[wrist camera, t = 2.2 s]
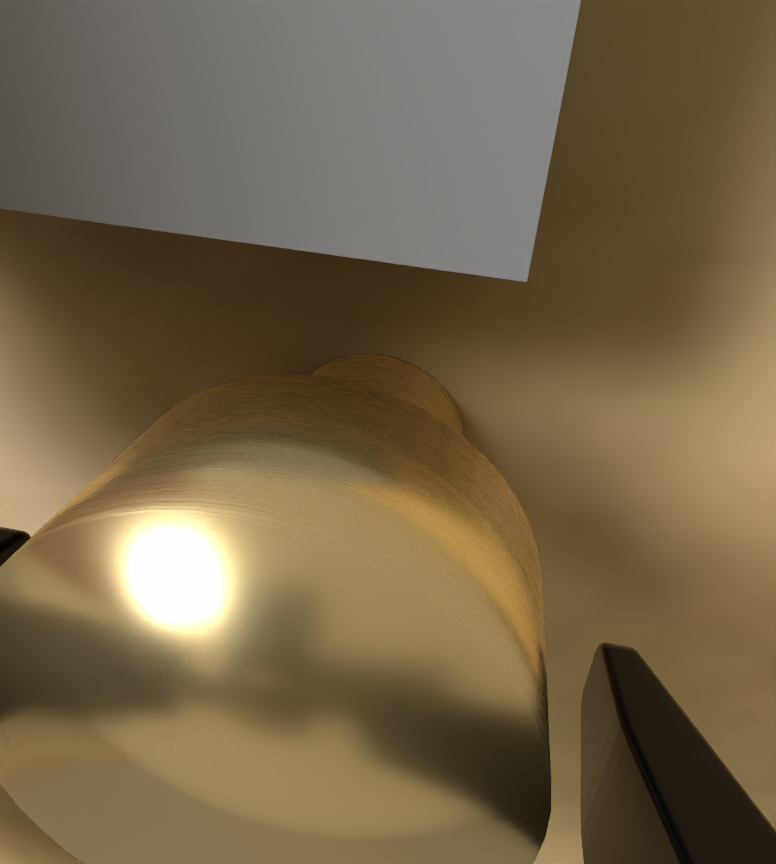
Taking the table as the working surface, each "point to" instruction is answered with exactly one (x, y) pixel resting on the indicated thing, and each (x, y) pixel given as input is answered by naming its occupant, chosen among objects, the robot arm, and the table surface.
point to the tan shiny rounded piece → (284, 638)
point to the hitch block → (291, 121)
